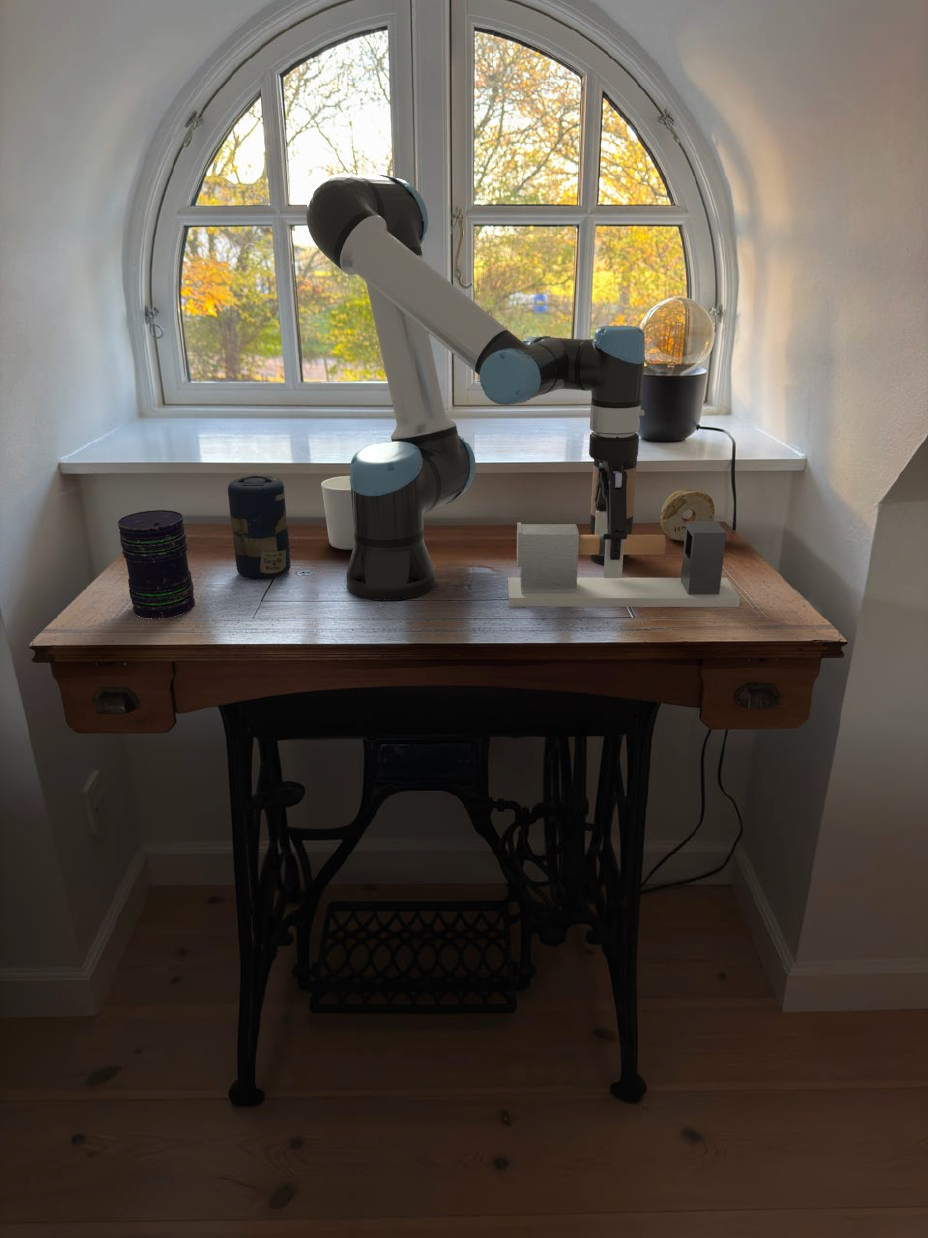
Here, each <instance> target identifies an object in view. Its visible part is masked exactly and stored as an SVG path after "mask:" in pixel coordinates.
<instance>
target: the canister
mask: <svg viewBox="0 0 928 1238" xmlns="http://www.w3.org/2000/svg"><path fill="white" fill-rule="evenodd" d="M285 495H286V494H285V485H284V482H283V481H282V480H281V479H280V478H277V477H275V476H270V475H258V474H257V475H256V474H254V475H253V474H252V475H248V476H244V477H239V478H236V479H233V480H232V481H231V482H230V483H229V484H228V486H227V496H228V506H229V507H228V508H229V515H230V516H229V517H230V524H231V525H230V527H231V531H232V539H233V549H234V550H233V551H234V557H235V567H236V571H237V573H238V574H239V575H240V576H241V577H242V578H244V579H248V580H253V581H267V580H273V579H277V578H280V577H282V576H284V575H285V574H288V572H289V571H290V570H291V568H292V567H291V565H292V563H291V555H290V540H289V539H290V537H289V527H288V518H287V508H286V496H285Z"/></svg>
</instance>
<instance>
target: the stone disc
mask: <svg viewBox="0 0 928 1238" xmlns="http://www.w3.org/2000/svg"><path fill="white" fill-rule="evenodd" d="M688 510H690V511H691V512H692V513H691V514H690V515H689V516H688V517H687V518H684V517H683V516H684V515H683V514H685V512H686V511H688ZM715 510H716V509H715V504H714V501H713V499H712V497H711V496H710V495H709V494H707V493H706V492H705V491H702V490H697V489H680V490H676V491H675V492H673V493H671V494H669V496H667V498H666V500H665V501H664V502H663V504H662V507H661V511H660V517H659V524H660V527H661V530H662V531H663V533H664V534H666V535H667V537H669V538H670V539H672V540H675V541H678V542H679V541H680V542H685V532H686V522H687V521H715ZM666 535H665V536H666Z"/></svg>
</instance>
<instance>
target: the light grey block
mask: <svg viewBox="0 0 928 1238" xmlns="http://www.w3.org/2000/svg"><path fill="white" fill-rule="evenodd" d="M516 525H517V527H516V564H517V568H519V578H520V589H521V593H534V594H576V590H577V578H578V569H579V568H578V565H579V564H578V562H579V555H578V547H579V535H580V533H579V529H578V527H577V524H576V523H573V524H571V523H569V524H568V523H567V524H565V523H564V524H563V523H559V524H558V523H554V524H553V523H551V524H550V523H549V524H548V523H547V524H545V523H544V524H543V523H541V524H539V523H538V524H537V523H534V524H532V523H529V524H528V523H525V524H523V523H522V522H517V523H516Z"/></svg>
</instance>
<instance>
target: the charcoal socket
mask: <svg viewBox="0 0 928 1238" xmlns="http://www.w3.org/2000/svg"><path fill="white" fill-rule="evenodd" d="M726 540H727V531H726V530H725V529H724V527H722V525H721V524H720V522H719V520H714V521H687V522H686V532H685V541H683V553H682V554H683V555H682V565H681V574H680V578H681V582H682V584H683V586H684V588H685V590H686V592H687V594H688V595H719V592H720V584H721V578H722V574H723V568H724V567H723V565H724V559H725V558H724V556H725V550H726V549H725V547H726Z"/></svg>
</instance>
